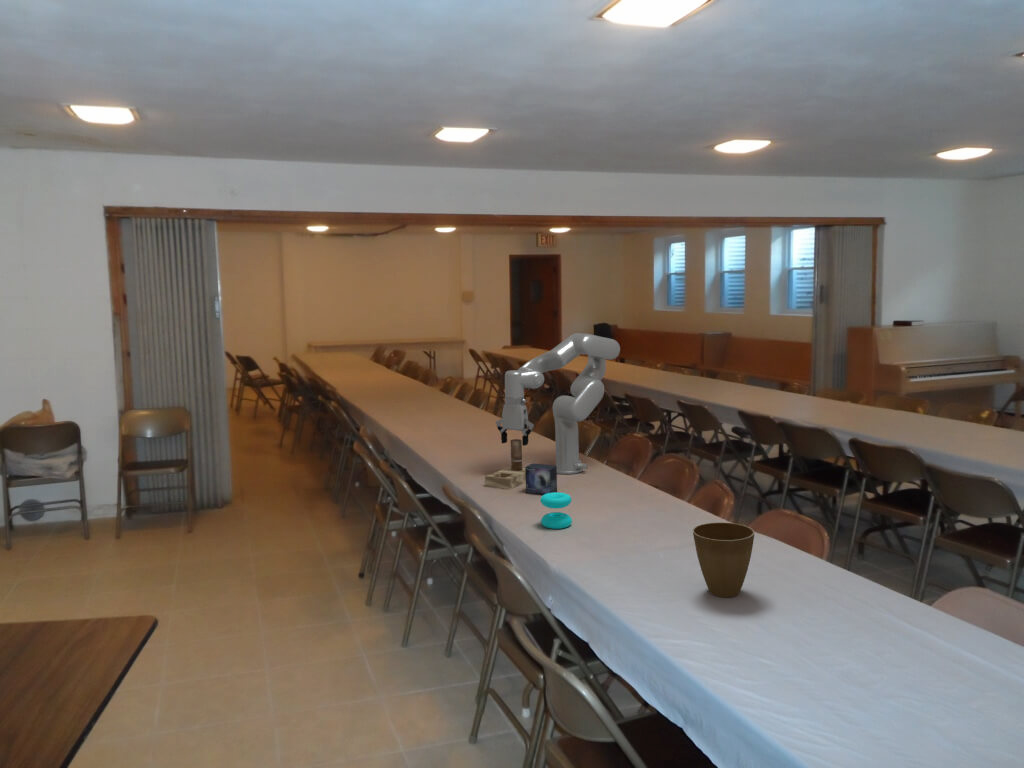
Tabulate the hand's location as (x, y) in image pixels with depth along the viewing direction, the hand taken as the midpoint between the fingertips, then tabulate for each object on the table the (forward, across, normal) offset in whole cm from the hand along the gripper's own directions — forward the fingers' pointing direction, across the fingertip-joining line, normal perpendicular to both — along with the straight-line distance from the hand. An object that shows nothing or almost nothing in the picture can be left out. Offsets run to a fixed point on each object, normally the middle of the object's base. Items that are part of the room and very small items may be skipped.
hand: (514, 443), depth 322 cm
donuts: (+15, -44, +46) cm, 65 cm away
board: (+15, 0, +4) cm, 15 cm away
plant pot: (+15, -108, +77) cm, 133 cm away
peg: (+11, 0, -1) cm, 11 cm away
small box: (+15, -20, +13) cm, 28 cm away
